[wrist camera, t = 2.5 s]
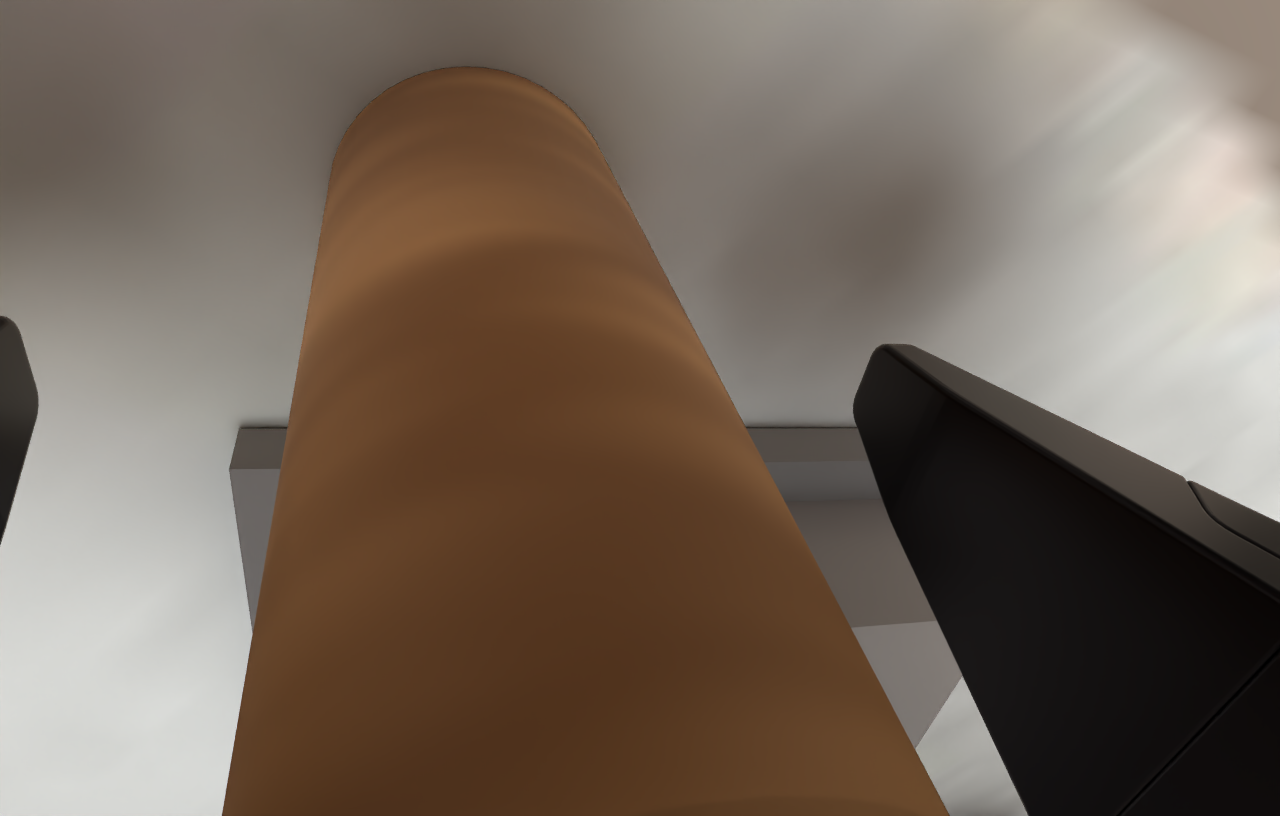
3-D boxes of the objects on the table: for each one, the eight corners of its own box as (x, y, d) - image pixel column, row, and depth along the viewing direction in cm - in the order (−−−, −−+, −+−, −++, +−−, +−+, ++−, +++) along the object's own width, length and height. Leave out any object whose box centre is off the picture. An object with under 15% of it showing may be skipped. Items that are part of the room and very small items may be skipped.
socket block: (1013, 428, 18) (1144, 568, 14) (837, 747, 24) (900, 889, 21) (238, 428, 13) (190, 628, 10) (289, 816, 20) (269, 1005, 17)
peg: (631, 86, 11) (1114, 746, 4) (590, 333, 14) (835, 1059, 6) (322, 47, 10) (91, 886, 3) (334, 324, 13) (231, 1207, 5)
